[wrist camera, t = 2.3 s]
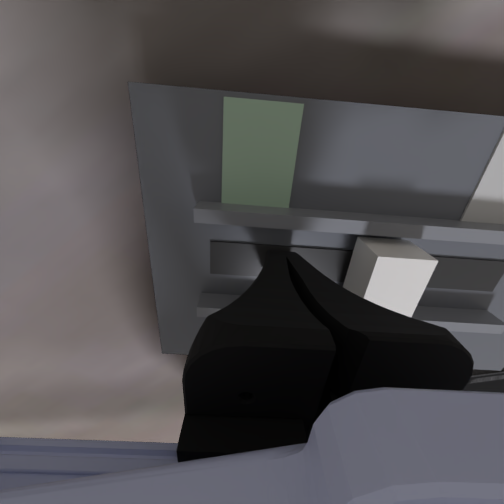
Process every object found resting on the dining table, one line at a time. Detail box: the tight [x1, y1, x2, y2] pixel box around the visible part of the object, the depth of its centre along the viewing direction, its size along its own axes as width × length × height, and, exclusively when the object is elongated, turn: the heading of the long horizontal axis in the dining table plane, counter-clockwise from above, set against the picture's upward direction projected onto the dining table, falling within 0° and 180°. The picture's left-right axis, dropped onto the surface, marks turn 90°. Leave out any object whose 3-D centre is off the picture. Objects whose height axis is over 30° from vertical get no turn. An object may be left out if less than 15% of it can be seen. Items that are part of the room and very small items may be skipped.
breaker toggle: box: [343, 237, 438, 317], centre depth 11 cm, size 4×2×2 cm, turn 176°
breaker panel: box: [128, 82, 504, 371], centre depth 13 cm, size 14×22×4 cm, turn 86°
